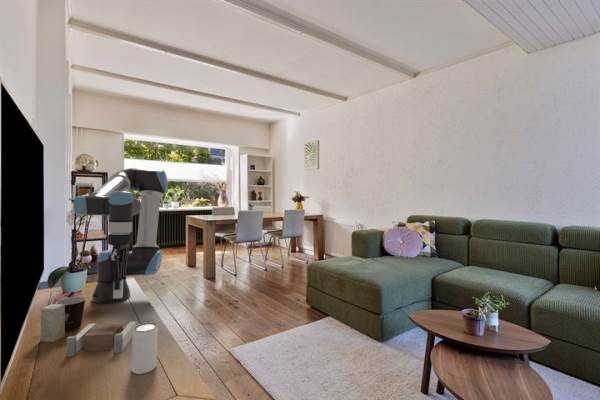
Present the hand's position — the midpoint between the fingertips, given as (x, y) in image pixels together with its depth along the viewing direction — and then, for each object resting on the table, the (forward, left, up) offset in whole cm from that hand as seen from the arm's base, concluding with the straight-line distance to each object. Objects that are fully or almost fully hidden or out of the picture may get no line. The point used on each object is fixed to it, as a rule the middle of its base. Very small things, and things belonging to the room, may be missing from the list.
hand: (117, 297), depth 107 cm
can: (+28, +17, -12) cm, 35 cm away
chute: (+11, 0, -12) cm, 16 cm away
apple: (-15, -23, -12) cm, 30 cm away
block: (+11, 0, -12) cm, 16 cm away
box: (+5, -18, -12) cm, 22 cm away
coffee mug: (-4, -18, -12) cm, 22 cm away
